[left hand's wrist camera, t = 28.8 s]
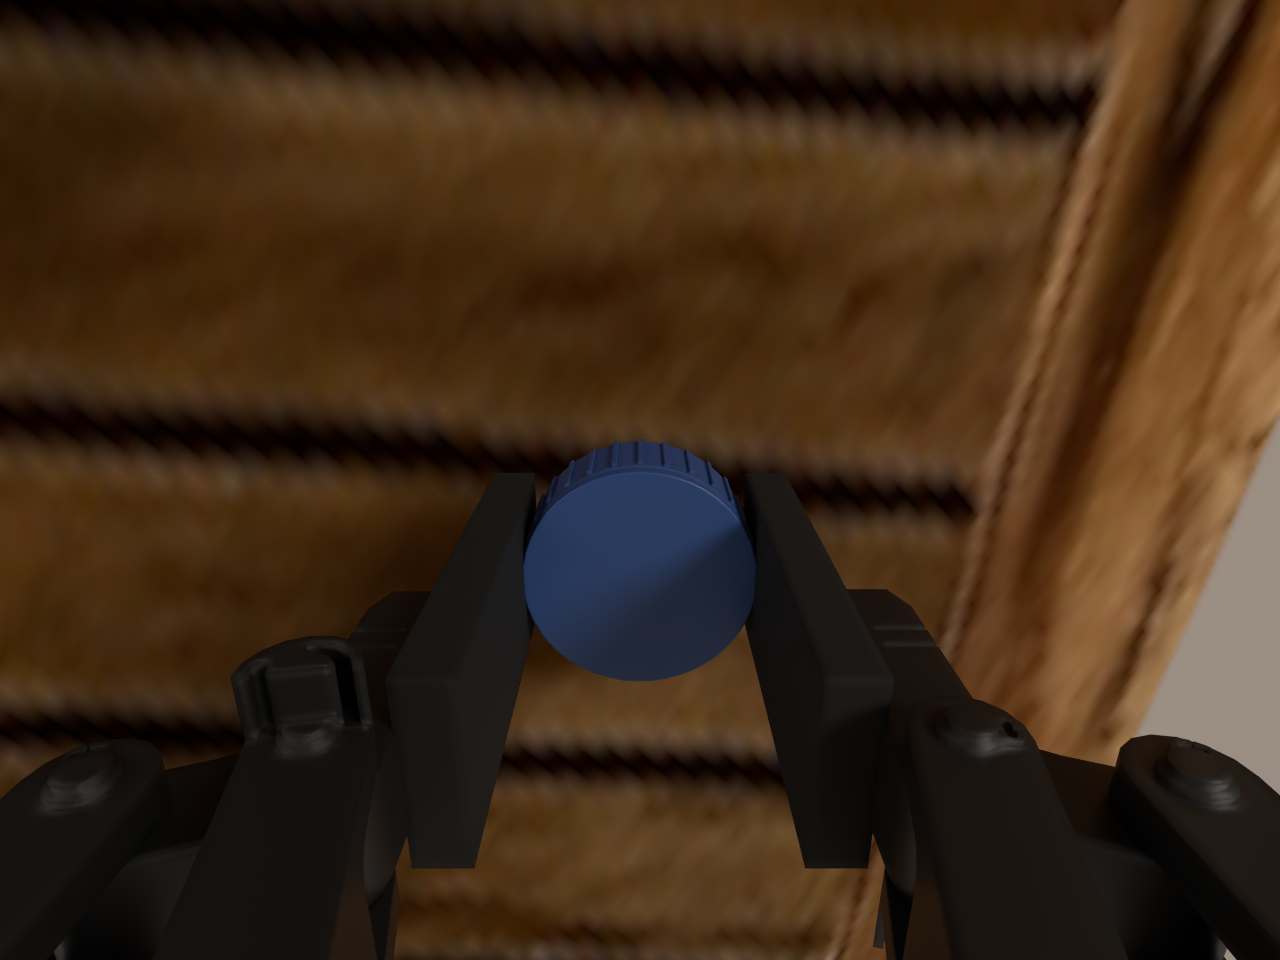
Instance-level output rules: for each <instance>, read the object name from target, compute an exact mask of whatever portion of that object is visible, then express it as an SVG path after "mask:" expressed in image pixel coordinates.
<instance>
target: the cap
mask: <svg viewBox="0 0 1280 960" xmlns="http://www.w3.org/2000/svg"><path fill="white" fill-rule="evenodd" d="M526 545H527V548H526V551H525V555H524V582H525V597H526V604H527V607H528V610H529V612H530V615H531V617H532V619H533V621H534V623H535V624H536V626H537V628H538V629H539V631H540V632H541V634H542V635H543V636H544V637H545V639H546V640H547V641H548V642H549V643H550V644H551V645H552V646H553V647H554V648H555V649H556V650H557V651H558V652H559V653H560V654H562V655H563V656H564V657H566V658H567V659H568V660H570V661H571V662H573V663H575V664H576V665H578V666H580V667H582V668H584V669H586V670H588V671H591V672H593V673H596V674H599V675H602V676H605V677H609V678H614V679H619V680H628V681H653V680H660V679H667V678H670V677H674V676H678V675H681V674H684V673H686V672H689V671H691V670H694V669H696V668H698V667H700V666H701V665H703V664H705V663H707V662H708V661H710V660H711V659H713V658H714V657H716V656H717V655H718V654H719V653H720V652H722V651H723V650H724V649H725V648H726V647H727V646H728V645H729V644H730V643H731V642H732V641H733V639H734V638H735V637H736V636H737V635H738V633H739V632H740V630H741V629H742V627H743V626H744V624H745V622H746V620H747V618H748V616H749V614H750V612H751V609H752V606H753V603H754V590H755V574H756V556H755V553H754V549H753V539H752V536H751V533H750V530H749V527H748V522H747V519H746V516H745V513H744V510H743V507H742V504H741V501H740V498H739V496H738V495H736V496H735V495H734V494H733V492H732V490H731V489H730V487H729V484H728V480H727V478H726V477H723V478H722V477H721V476H720V475H719V474H718V473H717V472H716V471H715V470H714V469H713V468H712V467H711V463H710V462H708V461H707V462H706V463H705V462H704V461H702V460H701V459H699V458H698V457H696V456H694V455H692V454H691V452H690V450H688V449H686V450H685V451H684V450H681V449H678V448H675V447H673V446H669V445H667V443H666V442H663V443H662V444H660V443H652V442H643V440H638V442H627V443H621V444H618V442H614V444H613V445H611V446H608V447H604V448H601V449H598V450H596V451H595V449H592V450H590V453H589V454H587V455H585V456H584V457H582V458H581V459H579V460H577V461H576V462H574V460H573V461H571V462H570V464H569V467H568V468H567V469H566V470H564V471H563V473H562V474H561V475H560V476H559V477H557V476H555V477H554V478H553V481H552V484H551V487H550V488H549V490H548V491H547V493H546V495H543V494H542V496H541V498H540V501H539V504H538V507H537V510H536V513H535V516H534V519H533V522H532V525H531V528H530V531H529V534H528V537H527V540H526Z"/></svg>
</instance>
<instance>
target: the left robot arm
mask: <svg viewBox="0 0 1280 960" xmlns="http://www.w3.org/2000/svg"><path fill="white" fill-rule="evenodd" d="M743 510H744V513H745V516H746V519H747V522H748V527H749V530H750V533H751V536H752V539H753V549H754V553H755V556H756V574H755V590H754V603H753V606H752V609H751V612H750V614H749V616H748V618H747V620H746V622H745V627H746V631H747V635H748V639H749V643H750V647H751V651H752V655H753V659H754V663H755V667H756V671H757V675H758V679H759V683H760V687H761V691H762V695H763V699H764V703H765V708H766V712H767V716H768V720H769V724H770V728H771V732H772V736H773V740H774V744H775V748H776V752H777V756H778V760H779V764H780V768H781V772H782V776H783V780H784V784H785V788H786V792H787V796H788V800H789V804H790V808H791V813H792V817H793V821H794V825H795V829H796V833H797V837H798V841H799V845H800V849H801V853H802V857H803V861H804V865H805V868H868V862H869V855H870V848H871V841H872V834H873V835H874V837H875V840H876V843H877V846H878V848H879V851H880V854H881V856H882V859H883V862H884V864H885V870H884V877H883V884H882V890H881V897H880V903H879V910H878V916H877V923H876V929H875V936H874V944H873V947H877V948H882V949H883V945H884V940H885V946H886V955H887V960H1226V959H1225V957H1224V955H1225V952H1226V950H1227V949H1228V950H1229V951H1230V952H1231V953H1232V955H1233V956H1234V957H1235V958H1236V960H1280V795H1279V794H1278V793H1277V792H1276V791H1274V790H1273V789H1272V788H1271V787H1270V786H1269V785H1268V784H1267V783H1265V782H1264V781H1263V780H1262V779H1261V778H1260V777H1259V776H1257V775H1256V774H1254V773H1253V772H1252V771H1250V770H1249V769H1247V768H1246V767H1245V766H1243V765H1242V764H1240V763H1239V762H1238V761H1236V760H1235V759H1233V758H1231V757H1228V756H1226V755H1224V754H1222V753H1220V752H1218V751H1216V750H1214V749H1212V748H1210V747H1208V746H1206V745H1203V744H1200V743H1197V742H1192V741H1190V740H1186V739H1182V738H1178V737H1170V736H1160V735H1146V736H1140V737H1135V738H1131V739H1130V740H1129V741H1128V742H1126V743H1125V744H1124V745H1123V746H1122V747H1121V748H1120V751H1119V755H1118V758H1117V762H1116V765H1115V767H1113V766H1108V765H1103V764H1099V763H1094V762H1089V761H1085V760H1080V759H1075V758H1071V757H1066V756H1061V755H1058V754H1054V753H1050V752H1047V751H1043V750H1040V749H1038V746H1037V744H1036V742H1035V740H1034V738H1033V737H1032V736H1031V734H1030V733H1029V732H1028V730H1027V729H1026V727H1025V726H1024V725H1023V724H1022V723H1020V722H1019V721H1018V720H1016V719H1015V718H1014V717H1012V716H1011V715H1010V714H1008V713H1007V712H1006V711H1004V710H1001V709H999V708H997V707H995V706H992V705H990V704H988V703H986V702H983V701H980V700H976V699H973V698H972V696H971V695H970V693H969V692H968V690H967V689H966V687H965V686H964V685H963V683H962V682H961V680H960V679H959V677H958V676H957V674H956V673H955V671H954V670H953V668H952V667H951V665H950V664H949V662H948V661H947V659H946V658H945V656H944V655H943V653H942V652H941V650H940V649H939V647H936V645H935V641H934V640H933V638H932V637H931V635H930V634H929V632H928V631H927V630H925V629H924V625H923V623H922V622H921V620H920V619H919V617H918V616H917V614H916V613H915V611H914V610H913V608H912V607H911V606H910V605H908V604H907V603H906V602H904V601H903V600H901V599H900V598H898V597H897V596H895V595H894V594H892V593H891V592H890V591H888V590H887V589H846V587H845V585H844V584H843V582H842V580H841V578H840V576H839V574H838V572H837V570H836V569H835V567H834V565H833V563H832V561H831V559H830V557H829V555H828V554H827V552H826V550H825V548H824V546H823V544H822V542H821V540H820V538H819V537H818V535H817V533H816V531H815V529H814V527H813V525H812V523H811V522H810V520H809V518H808V516H807V514H806V512H805V510H804V508H803V507H802V505H801V503H800V501H799V499H798V497H797V495H796V493H795V491H794V490H793V488H792V486H791V484H790V482H789V480H788V478H787V476H786V475H785V473H745V485H744V504H743ZM535 513H536V494H535V476H534V473H495V474H494V475H493V477H492V479H491V481H490V483H489V485H488V487H487V489H486V491H485V492H484V494H483V496H482V498H481V500H480V502H479V504H478V506H477V507H476V509H475V511H474V513H473V515H472V517H471V519H470V521H469V522H468V524H467V526H466V528H465V530H464V532H463V534H462V536H461V537H460V539H459V541H458V543H457V545H456V547H455V549H454V551H453V553H452V554H451V556H450V558H449V560H448V562H447V564H446V566H445V568H444V569H443V571H442V573H441V575H440V577H439V579H438V581H437V583H436V584H435V586H434V588H433V590H432V592H392V593H391V594H389V595H388V596H386V597H385V598H384V599H382V600H381V601H379V602H378V603H376V604H375V605H373V606H372V607H371V608H369V609H368V611H367V612H366V614H365V615H364V617H363V618H362V620H361V621H360V623H359V624H358V626H357V627H356V629H355V633H352V635H351V636H350V638H349V639H348V640H346V639H342V638H339V637H335V636H309V637H304V638H299V639H294V640H289V641H285V642H282V643H280V644H277V645H274V646H272V647H269V648H267V649H264V650H262V651H260V652H259V653H257V654H256V655H254V656H252V657H251V658H249V659H248V660H246V661H245V662H243V663H242V664H241V665H240V666H239V668H238V669H237V670H236V671H235V672H234V674H233V675H232V676H231V681H232V686H233V690H234V695H235V699H236V703H237V708H238V712H239V716H240V721H241V725H242V730H243V734H244V738H245V743H244V745H243V748H242V750H241V752H240V753H237V754H234V755H230V756H226V757H223V758H219V759H215V760H210V761H206V762H201V763H196V764H192V765H187V766H182V767H178V768H173V769H168V770H165V768H164V764H163V760H162V757H161V753H160V751H159V750H158V749H157V748H156V747H155V746H153V745H152V744H151V743H150V742H149V741H143V740H138V739H133V738H123V739H113V740H104V741H100V742H96V743H91V744H90V745H85V746H82V747H79V748H76V749H73V750H71V751H69V752H67V753H65V754H63V755H61V756H59V757H57V758H55V759H53V760H51V761H49V762H47V763H45V764H44V765H42V766H41V767H40V768H38V769H37V770H35V771H34V772H33V773H31V774H30V775H28V776H27V777H26V778H24V779H23V780H21V781H20V782H19V783H18V784H17V785H16V786H15V787H14V788H13V789H11V790H10V791H9V792H8V793H7V794H6V795H5V796H4V797H2V798H1V799H0V960H47V959H48V958H49V957H50V956H51V955H52V953H53V952H54V954H55V957H56V959H57V960H393V957H394V948H395V939H396V930H397V920H398V911H399V902H400V898H399V891H398V884H397V877H396V870H395V867H396V864H397V861H398V859H399V856H400V853H401V851H402V848H403V845H404V842H405V840H406V837H408V844H409V851H410V858H411V865H412V868H474V867H475V863H476V859H477V855H478V851H479V847H480V843H481V839H482V835H483V831H484V827H485V823H486V819H487V815H488V811H489V806H490V802H491V798H492V794H493V790H494V786H495V782H496V778H497V774H498V770H499V766H500V762H501V758H502V754H503V750H504V746H505V742H506V738H507V734H508V730H509V726H510V722H511V718H512V714H513V710H514V706H515V702H516V697H517V693H518V689H519V685H520V681H521V677H522V673H523V669H524V665H525V661H526V657H527V653H528V649H529V645H530V641H531V637H532V633H533V629H534V625H535V623H534V621H533V619H532V617H531V615H530V612H529V610H528V607H527V604H526V597H525V582H524V555H525V551H526V548H527V545H526V540H527V537H528V534H529V531H530V528H531V525H532V522H533V519H534V516H535Z"/></svg>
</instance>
